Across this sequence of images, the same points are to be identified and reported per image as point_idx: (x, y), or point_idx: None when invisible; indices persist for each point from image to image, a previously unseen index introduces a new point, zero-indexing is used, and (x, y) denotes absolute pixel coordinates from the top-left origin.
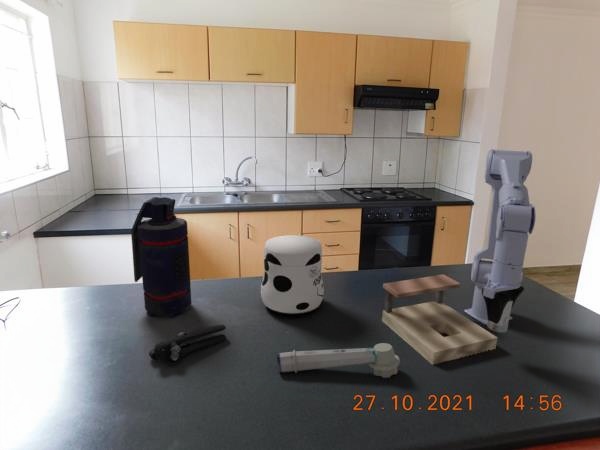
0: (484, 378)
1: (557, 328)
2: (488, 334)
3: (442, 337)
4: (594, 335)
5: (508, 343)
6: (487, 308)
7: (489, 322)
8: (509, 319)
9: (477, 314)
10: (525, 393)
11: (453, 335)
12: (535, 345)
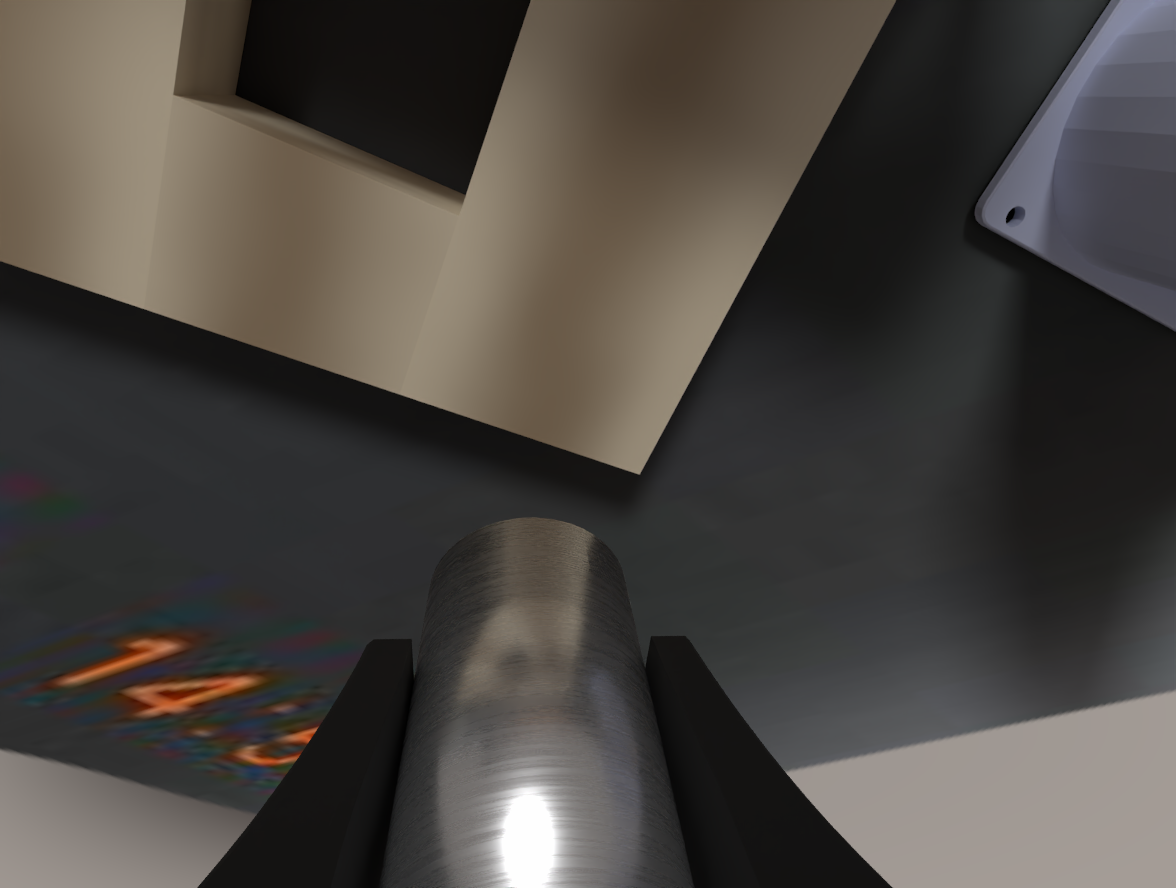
0: (196, 515)
1: (1166, 570)
2: (635, 406)
3: (147, 84)
4: (1156, 694)
5: (771, 450)
6: (278, 800)
7: (442, 598)
8: (1171, 328)
9: (1108, 89)
10: (291, 684)
11: (315, 166)
12: (856, 561)
